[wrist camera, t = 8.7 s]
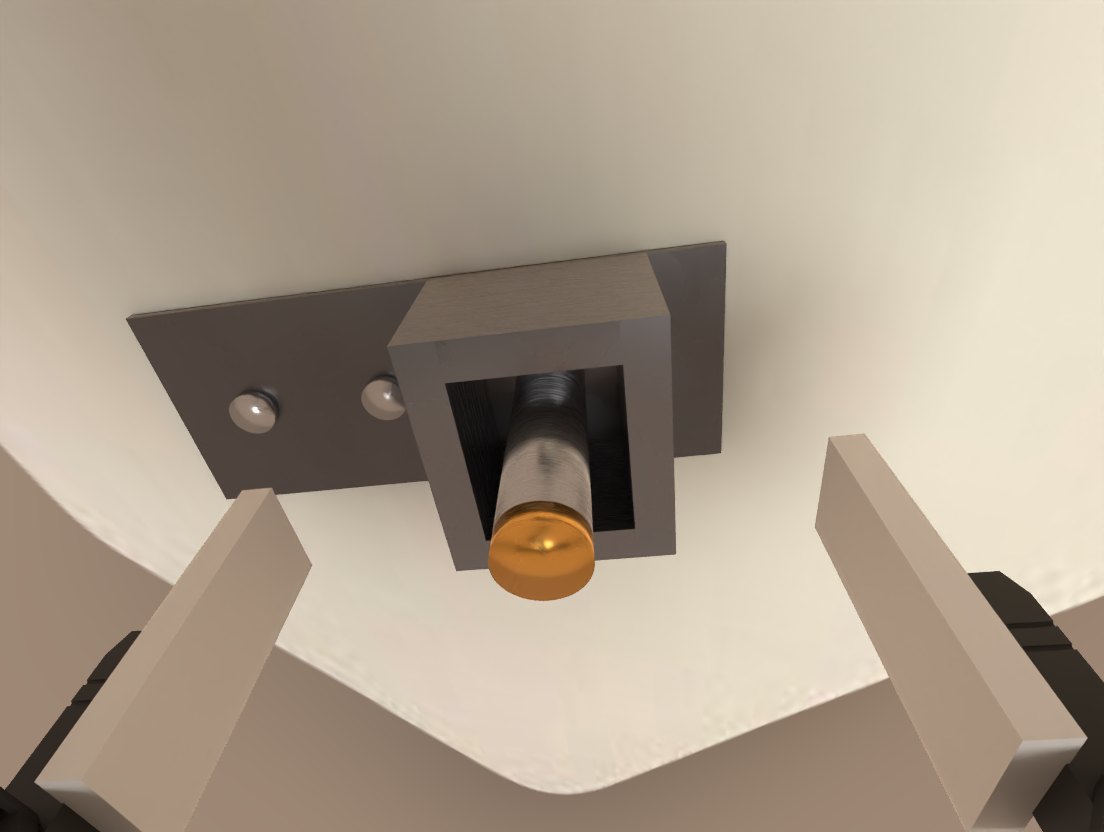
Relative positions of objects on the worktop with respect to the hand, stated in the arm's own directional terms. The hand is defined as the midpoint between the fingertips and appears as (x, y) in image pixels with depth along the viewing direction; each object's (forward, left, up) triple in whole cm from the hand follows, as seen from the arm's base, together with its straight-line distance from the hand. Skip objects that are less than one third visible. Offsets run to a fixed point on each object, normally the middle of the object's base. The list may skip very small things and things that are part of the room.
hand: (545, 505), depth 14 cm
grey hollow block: (0, 0, -7) cm, 7 cm away
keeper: (0, -4, -8) cm, 9 cm away
